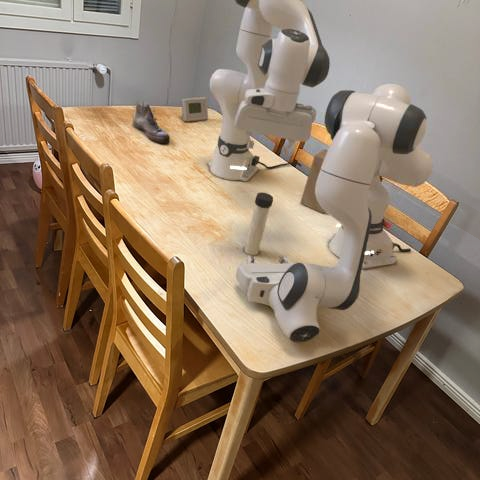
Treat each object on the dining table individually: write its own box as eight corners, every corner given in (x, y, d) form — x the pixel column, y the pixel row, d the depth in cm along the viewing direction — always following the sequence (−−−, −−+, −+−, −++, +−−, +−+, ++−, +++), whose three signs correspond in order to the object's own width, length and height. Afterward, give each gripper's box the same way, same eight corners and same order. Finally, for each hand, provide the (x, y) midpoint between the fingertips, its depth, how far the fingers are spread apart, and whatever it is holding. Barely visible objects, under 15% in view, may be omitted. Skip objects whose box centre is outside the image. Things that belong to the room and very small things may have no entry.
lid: (271, 201, 128) (273, 194, 127) (271, 209, 124) (273, 202, 123) (254, 198, 128) (256, 191, 126) (254, 206, 123) (256, 198, 122)
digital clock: (183, 122, 219) (186, 101, 213) (175, 116, 224) (177, 95, 219) (211, 122, 228) (214, 101, 222) (202, 115, 233) (205, 95, 228)
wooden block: (323, 213, 164) (339, 164, 154) (299, 203, 168) (314, 154, 157) (332, 205, 172) (349, 158, 161) (310, 195, 176) (324, 148, 165)
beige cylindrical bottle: (258, 248, 136) (271, 195, 127) (258, 256, 133) (272, 202, 123) (244, 245, 136) (257, 193, 126) (244, 253, 132) (257, 200, 123)
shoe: (173, 145, 192) (176, 117, 186) (149, 145, 187) (151, 117, 180) (153, 123, 209) (155, 98, 203) (130, 123, 204) (132, 97, 197)
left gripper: (315, 104, 116) (301, 153, 123) (240, 89, 113) (230, 140, 120) (320, 110, 111) (305, 161, 118) (241, 95, 108) (230, 148, 115)
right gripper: (321, 279, 114) (302, 248, 125) (247, 281, 108) (233, 248, 119) (314, 298, 118) (296, 266, 128) (242, 300, 111) (229, 267, 122)
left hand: (267, 151), depth 119 cm, fingers open, 8 cm apart
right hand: (265, 257), depth 123 cm, fingers open, 8 cm apart
